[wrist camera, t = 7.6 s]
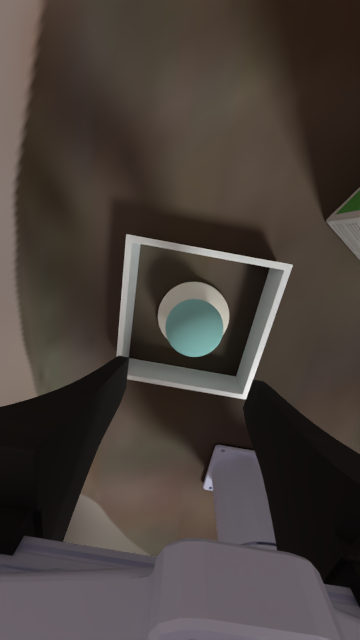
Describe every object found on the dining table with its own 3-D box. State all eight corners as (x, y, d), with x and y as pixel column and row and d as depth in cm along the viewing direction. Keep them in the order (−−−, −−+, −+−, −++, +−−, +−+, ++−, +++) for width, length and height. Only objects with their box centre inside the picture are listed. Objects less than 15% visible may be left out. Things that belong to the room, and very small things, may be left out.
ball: (223, 299, 20) (238, 315, 15) (209, 345, 22) (219, 373, 17) (171, 288, 19) (171, 302, 15) (162, 336, 21) (158, 362, 16)
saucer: (236, 288, 20) (237, 289, 19) (219, 352, 22) (219, 355, 22) (163, 275, 20) (163, 276, 19) (154, 341, 22) (153, 343, 22)
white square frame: (277, 262, 19) (292, 264, 16) (239, 381, 23) (246, 399, 20) (135, 236, 19) (126, 234, 16) (123, 361, 23) (114, 377, 20)
